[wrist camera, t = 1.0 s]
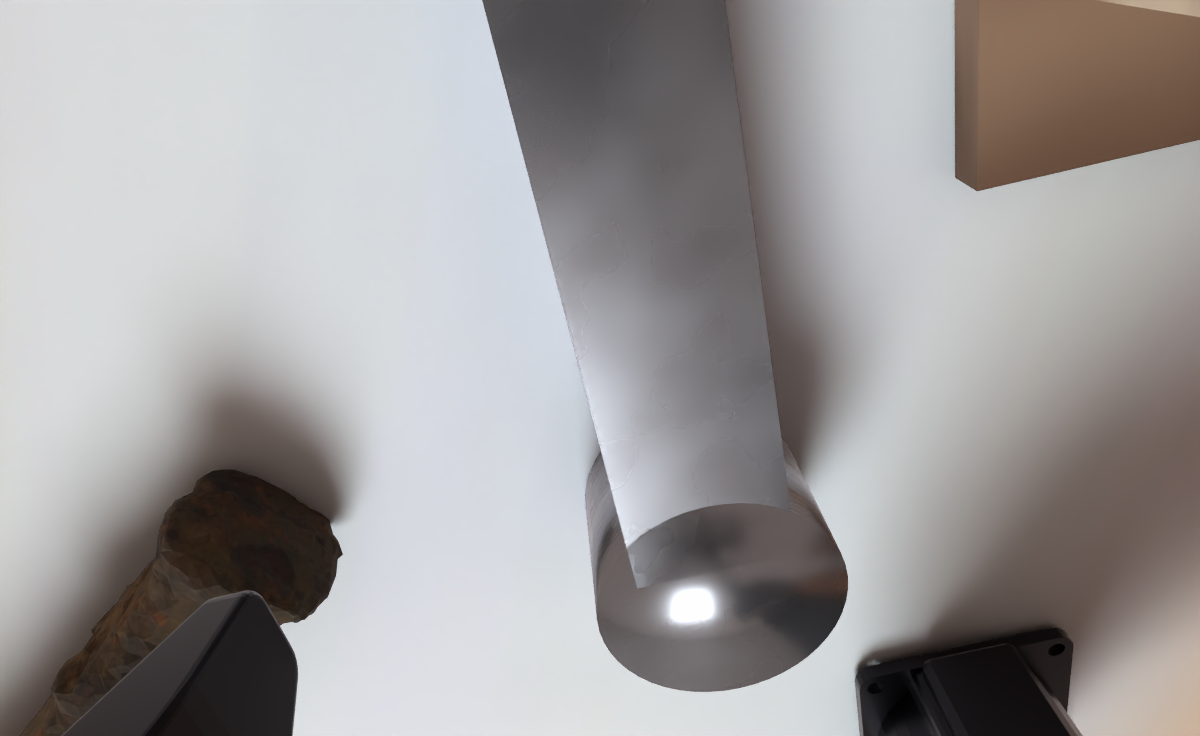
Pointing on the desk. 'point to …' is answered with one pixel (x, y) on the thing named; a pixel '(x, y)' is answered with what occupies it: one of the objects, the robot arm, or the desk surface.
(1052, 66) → the tool rack
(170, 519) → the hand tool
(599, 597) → the grey long block
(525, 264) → the desk surface
